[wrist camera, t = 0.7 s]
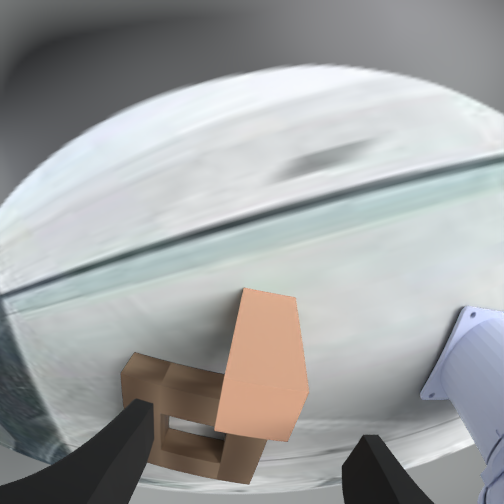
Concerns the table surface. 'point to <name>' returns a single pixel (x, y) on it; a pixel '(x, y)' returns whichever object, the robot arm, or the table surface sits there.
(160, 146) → the table surface
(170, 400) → the socket
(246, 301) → the peg
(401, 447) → the table surface
